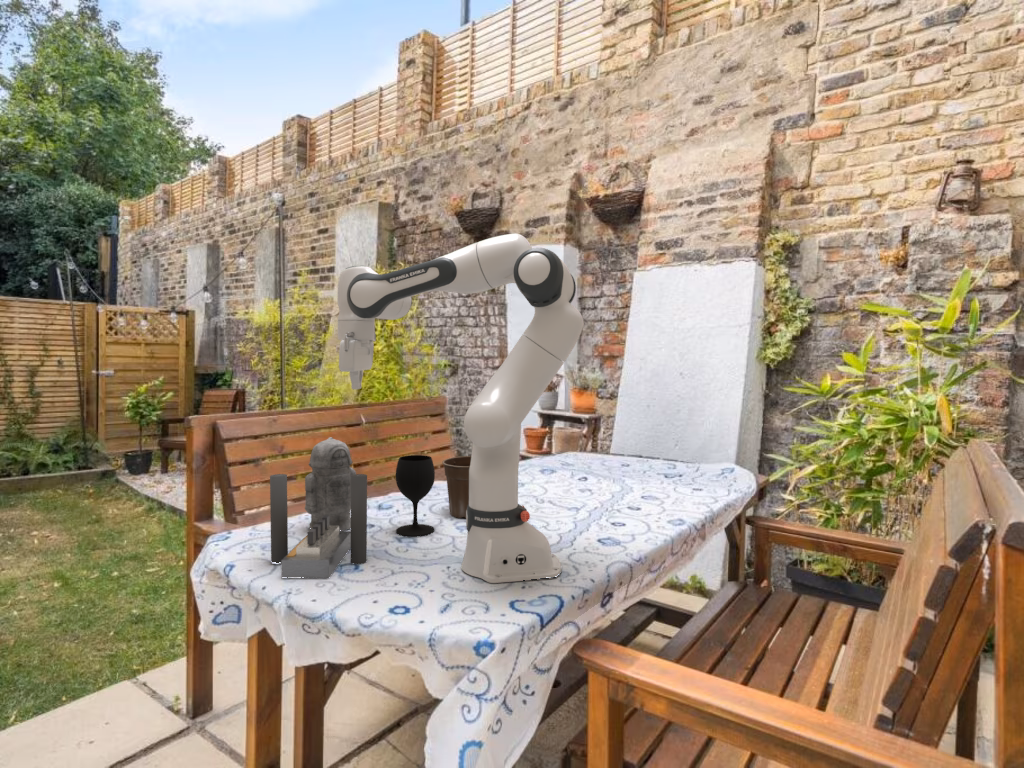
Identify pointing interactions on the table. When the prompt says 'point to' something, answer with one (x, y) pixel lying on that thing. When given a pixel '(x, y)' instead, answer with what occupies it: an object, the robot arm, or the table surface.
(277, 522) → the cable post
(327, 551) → the breaker panel
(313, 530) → the breaker paddles
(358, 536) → the disc
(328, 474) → the figurine
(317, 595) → the table surface
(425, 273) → the robot arm
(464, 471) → the plant pot
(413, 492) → the wine glass
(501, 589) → the table surface
